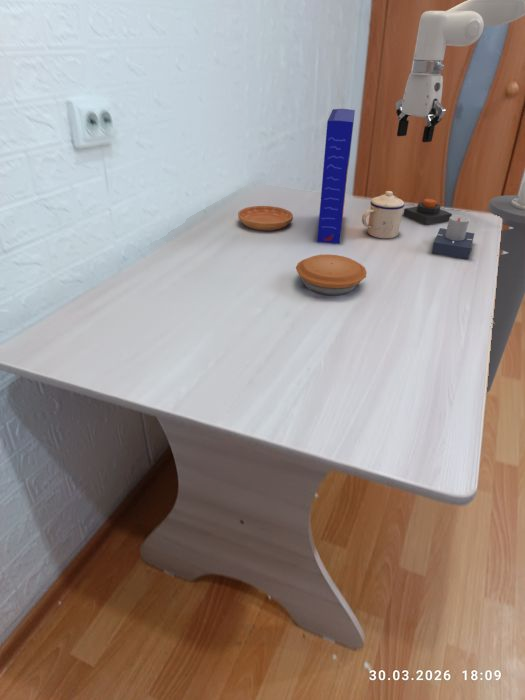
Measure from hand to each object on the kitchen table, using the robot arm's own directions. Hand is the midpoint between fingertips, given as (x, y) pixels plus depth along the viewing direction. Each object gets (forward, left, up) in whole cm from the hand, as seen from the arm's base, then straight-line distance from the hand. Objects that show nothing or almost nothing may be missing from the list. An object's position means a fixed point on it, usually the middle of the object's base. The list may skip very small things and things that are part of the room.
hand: (413, 138), depth 135 cm
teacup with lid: (+15, +9, -23) cm, 29 cm away
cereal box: (+25, 0, -23) cm, 34 cm away
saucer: (+40, -12, -23) cm, 48 cm away
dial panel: (+4, +26, -23) cm, 34 cm away
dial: (+4, +25, -20) cm, 32 cm away
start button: (-8, +3, -19) cm, 21 cm away
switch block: (-8, +4, -23) cm, 24 cm away
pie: (+46, +30, -23) cm, 59 cm away
